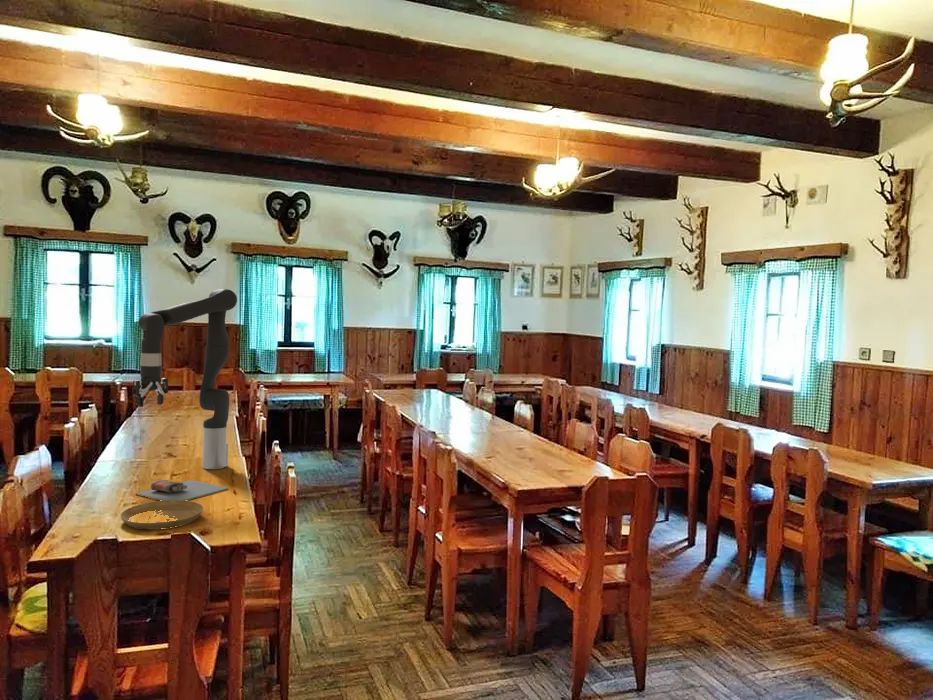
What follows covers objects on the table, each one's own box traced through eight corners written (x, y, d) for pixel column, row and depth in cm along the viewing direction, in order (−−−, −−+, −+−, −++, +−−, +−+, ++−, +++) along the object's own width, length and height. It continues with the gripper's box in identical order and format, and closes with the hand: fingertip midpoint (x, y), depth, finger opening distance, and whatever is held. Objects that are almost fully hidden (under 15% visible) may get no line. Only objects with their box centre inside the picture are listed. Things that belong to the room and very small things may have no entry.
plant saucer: (113, 535, 204) (113, 524, 204) (127, 511, 227) (127, 501, 227) (200, 530, 211) (200, 519, 211) (205, 508, 234) (205, 498, 234)
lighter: (150, 491, 248) (172, 495, 244) (151, 482, 248) (172, 485, 244) (167, 487, 255) (188, 491, 251) (168, 478, 255) (189, 482, 251)
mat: (191, 481, 266) (191, 479, 266) (228, 489, 257) (228, 487, 257) (135, 495, 245) (135, 493, 245) (173, 504, 236) (173, 502, 236)
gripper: (141, 366, 261) (140, 408, 262) (172, 364, 274) (172, 404, 275) (128, 364, 265) (127, 406, 266) (160, 362, 277) (159, 402, 278)
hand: (150, 405), depth 270 cm, fingers open, 8 cm apart
